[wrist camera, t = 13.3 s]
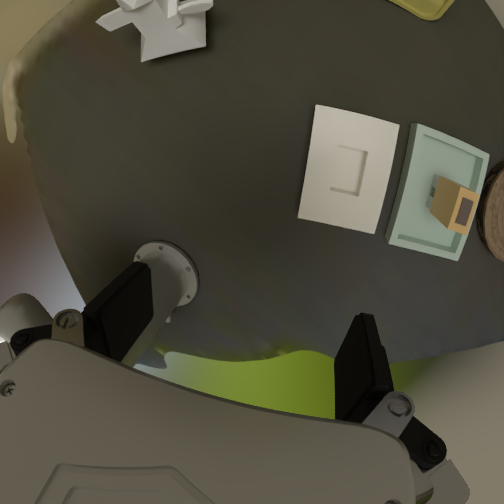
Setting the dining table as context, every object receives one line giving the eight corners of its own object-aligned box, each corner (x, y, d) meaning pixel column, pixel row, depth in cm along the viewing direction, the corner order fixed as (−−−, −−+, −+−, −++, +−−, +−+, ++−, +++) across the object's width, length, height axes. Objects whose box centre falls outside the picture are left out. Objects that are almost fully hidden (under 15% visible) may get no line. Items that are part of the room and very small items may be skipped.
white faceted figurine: (232, 49, 28) (187, 16, 16) (142, 68, 31) (76, 59, 19) (230, 0, 24) (189, -45, 12) (142, 22, 27) (81, 2, 15)
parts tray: (451, 253, 33) (457, 261, 31) (384, 236, 35) (388, 243, 33) (480, 152, 26) (489, 154, 23) (411, 123, 27) (417, 123, 25)
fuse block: (370, 225, 35) (374, 234, 32) (299, 210, 36) (297, 217, 34) (392, 124, 28) (399, 125, 26) (315, 106, 30) (315, 104, 27)
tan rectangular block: (441, 212, 31) (467, 236, 24) (423, 207, 31) (448, 229, 24) (450, 178, 28) (480, 195, 21) (433, 172, 29) (461, 186, 22)
